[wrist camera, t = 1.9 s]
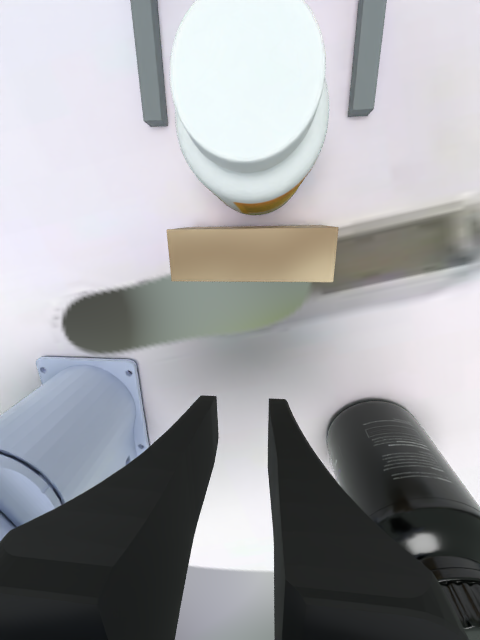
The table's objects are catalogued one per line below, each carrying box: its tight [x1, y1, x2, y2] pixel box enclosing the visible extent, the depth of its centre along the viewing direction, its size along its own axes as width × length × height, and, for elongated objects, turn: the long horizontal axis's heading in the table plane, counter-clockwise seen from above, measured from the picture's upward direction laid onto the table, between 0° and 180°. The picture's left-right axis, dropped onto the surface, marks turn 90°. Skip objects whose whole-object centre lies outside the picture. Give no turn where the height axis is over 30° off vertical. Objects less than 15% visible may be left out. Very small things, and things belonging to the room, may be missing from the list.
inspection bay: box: [130, 0, 387, 126], centre depth 14 cm, size 7×12×1 cm, turn 91°
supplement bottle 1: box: [170, 0, 329, 215], centre depth 12 cm, size 5×5×10 cm
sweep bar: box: [167, 225, 338, 282], centre depth 16 cm, size 2×8×4 cm, turn 91°
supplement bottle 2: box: [327, 401, 480, 640], centre depth 16 cm, size 7×7×12 cm
